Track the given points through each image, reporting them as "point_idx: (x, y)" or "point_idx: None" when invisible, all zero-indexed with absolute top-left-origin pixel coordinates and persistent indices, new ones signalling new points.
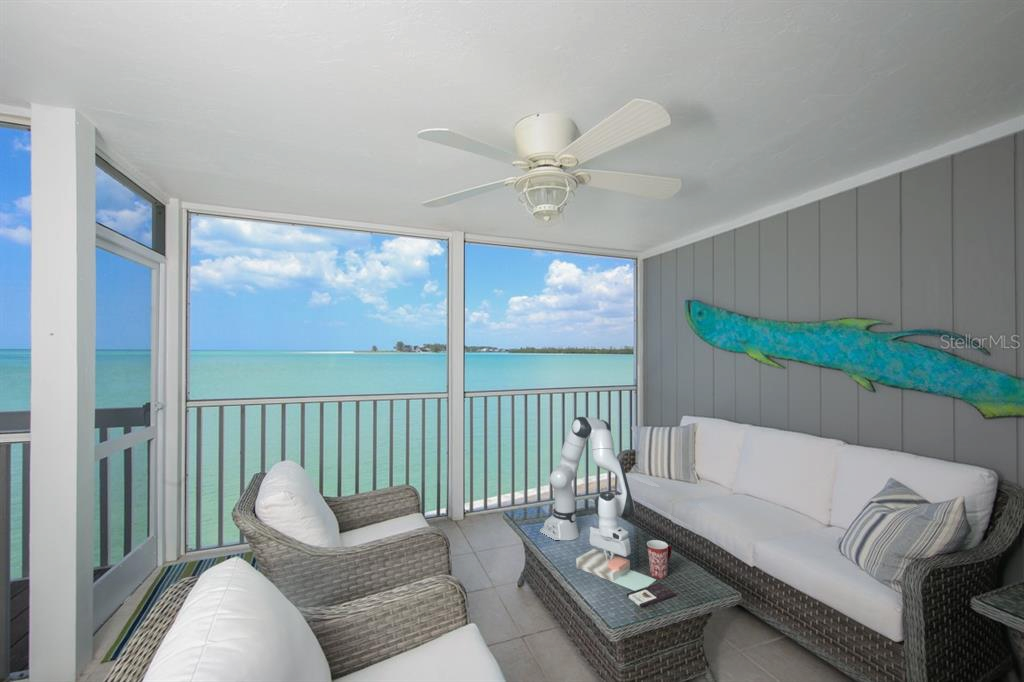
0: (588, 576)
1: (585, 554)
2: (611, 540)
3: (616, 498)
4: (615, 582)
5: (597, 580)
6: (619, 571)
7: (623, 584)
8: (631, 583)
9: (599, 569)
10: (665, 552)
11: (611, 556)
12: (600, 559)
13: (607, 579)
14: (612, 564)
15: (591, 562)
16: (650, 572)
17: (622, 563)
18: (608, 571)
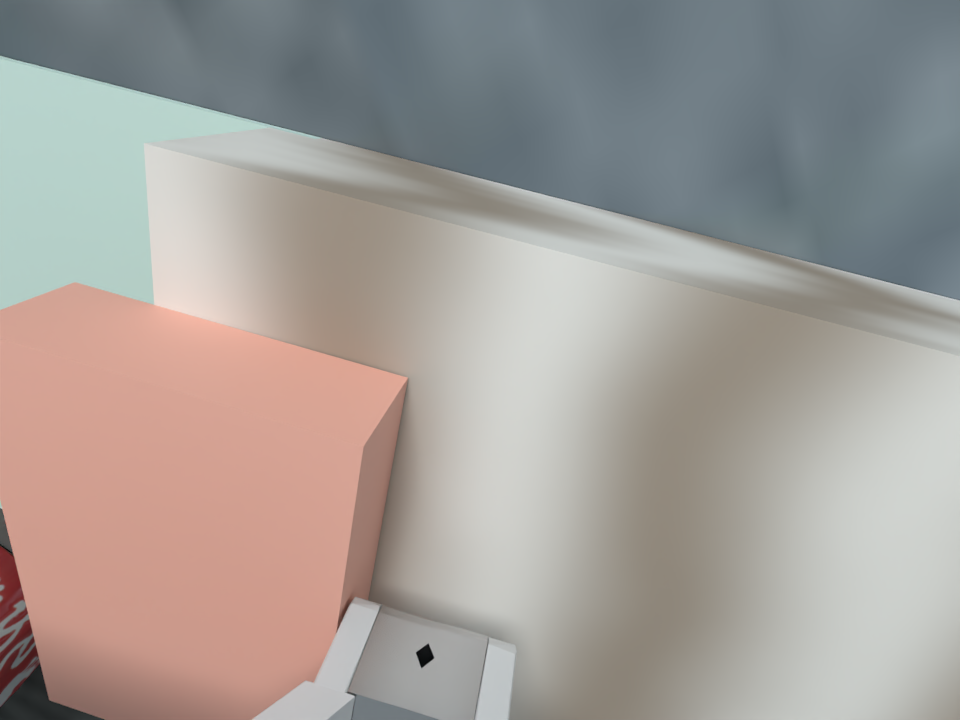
0: (877, 90)
1: None
2: None
3: None
4: (220, 114)
5: (603, 13)
6: (73, 299)
7: (70, 116)
8: (6, 226)
9: (607, 251)
10: None
11: (286, 716)
12: (701, 653)
13: (409, 162)
14: (189, 410)
15: (933, 466)
16: (8, 582)
17: (47, 546)
18: (292, 179)
